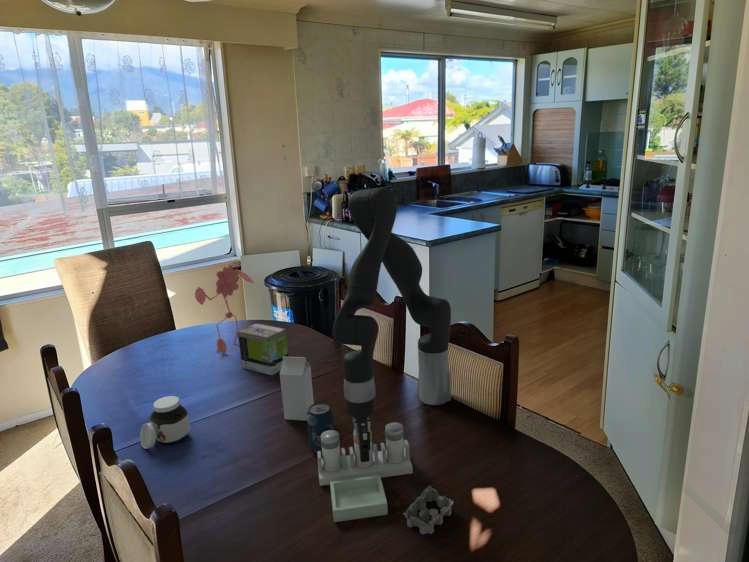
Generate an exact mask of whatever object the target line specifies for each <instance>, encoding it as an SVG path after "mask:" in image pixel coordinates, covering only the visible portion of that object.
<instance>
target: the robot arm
mask: <svg viewBox="0 0 749 562" xmlns="http://www.w3.org/2000/svg"><path fill="white" fill-rule="evenodd" d="M347 207H348V211H349V214H350V216H351V219H352V221H353V222H354V224H355V226H356V227H357V228H358V230H359V231H360V232H361V234H362V235H363V236H364V238H365V239H366V240H367V242H366V243H365V245H364V247H363V248H362V250H361V251H360V253H359V254H358V255H357V257H356V259H355V260H354V262H353V263H352V266H351V269H350V272H349V276H348V283H347V288H346V293H345V294H346V295H345V296H344V299H343V300H342V301H343V302H342V304H341V307H340V308H339V311H338V313H337V315H336V316H335V319H334V322H333V325H332V336H333V338H334V341H335V342H337V343H338V344H341V345H347V346H357V347H358V346H360V347H361V349H357V350H351V351H349V352H347V353H345V354H344V356H343V359H342V369H343V395H344V407H345V409H344V411H345V413H346V415H347V416H349V417H351V418H352V423H353V428H354V429H356V438H357V440H358V441H359V450H360V460H361V462H368V461H369V460H370V459H369V450H370V449H371V447H370V438H371V434H370V429H371V425H372V424H371V419H370V416H372V415H374V414H375V412H376V410H377V401H376V400H377V399H376V397H377V396H376V385H375V379H374V365H373V364H374V363H373V361H374V352H375V346H376V342H377V339H378V336H379V324H378V322H377V320H376V319H375V318H374V316H370V315H361V314H360V315H359V314H356V313H357V312H358V311H359V310H361V309H366V308H371V307H372V306H373V305H374V304H375V303H376V299H377V291H378V284H379V277H380V272H381V268H382V267H381V266H382V264H383V266H384V269H385V270H386V271H387V273H388V275H389V277H390V278H391V280H392V282H393V283H394V284H395V286H396V288H397V290H398V291H399V293H400V295H401V297H402V299H403V301H404V303H405V305H406V308H407V311H408V313H409V315H410V317H411V320H413V321H414V323H415V324H417V325H419V326H422V327H426V328H430V333H428V334H424V335H422V336H420V337H419V338H418V340H417V352H418V353H417V356H418V358H417V359H418V360H417V361H418V363H417V364H418V389H419V391H418V394H419V397H418V398H419V400H420V401H421V403H423V404H426V405H429V406H441V405H444V404H446V403H447V402H451V401H452V397H451V396H452V394H451V393H452V392H451V391H452V390H451V389H452V386H451V385H452V383H451V378H452V376H451V371H450V370H449V368H450V367H449V343H450V337H451V323H452V308H451V305H450V302H449V301H448V300H447V299H444V298H440V297H435V296H430V295H428V294H426V293H425V292H424V290H423V289H422V287H421V285H420V282H421V279H422V276H423V266H422V262H421V261H420V259H419V257H418V255H417V253H416V251H415V250H414V248H413V247H412V246H411V245H410V244H409V243H408V242H407V241H405V240H404V239H402V238H401V237H399V236H398V235H397V234H395V233H393V232H392V231H393V228H394V224H395V221H396V218H397V211H398V201H397V197H396V194H395V193H394V191H393V190H392V189H391V188H390V187H386V186H383V187H380V186H379V187H374V188H367V189H359V190H357V191H354V192H353V193H351V194H350V195H349V198H348V206H347ZM367 430H368V432H367ZM358 433H359V435H358Z"/></svg>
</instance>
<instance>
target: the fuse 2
mask: <svg viewBox="0 0 749 562" xmlns="http://www.w3.org/2000/svg"><path fill="white" fill-rule="evenodd" d="M384 433H385V435H384V436H385V449H386V451H387V461H388V462H389V463H391V464H399V463H402V462H403V461H404V440H405V439H404V437H405V435H404V434H405V433H404V425H403V424H402V423H400V422H397V421H396V422H395V421H394V422H389V423H387V424H386V425H385V428H384Z"/></svg>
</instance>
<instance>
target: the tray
mask: <svg viewBox="0 0 749 562" xmlns="http://www.w3.org/2000/svg"><path fill="white" fill-rule="evenodd" d="M383 485H384V484H383V482H382V478H381V476H380V475H377V476H369V477H362V478H354V479H347V480H340V481H332V482H330V485H329V486H330V487H329V488H330V495H331V496H330V497H331V505H332V506H331V507H332V508H331V509H332V516H333V523H337V522H345V521H351V520H352V521H353V520H359V519H360V520H361V519H364V518H372V517H378V516H386V515H389V513H388V510H389V509H388V502H387V497H386V494H385V493H386V492H385V488H384V486H383Z"/></svg>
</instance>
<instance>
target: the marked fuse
mask: <svg viewBox="0 0 749 562" xmlns="http://www.w3.org/2000/svg"><path fill="white" fill-rule="evenodd" d="M352 432H353V435H352V436H353V439H352V440H353V444H354V445H353V447H354V454H355V464H356V466H357V467H359V468H368V467H370V466H372V464H373V454H372V452H373V436H372V435H373V434H372V429H371V428H370V434H371V438H370V447H371V449H370V450H369V459H370V460H369V461H368V462H361V460H360V450H359V441H358V440H357V438H356V429H355V428H354V429H353V430H352ZM367 432H368V430H367ZM358 435H359V433H358Z"/></svg>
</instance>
